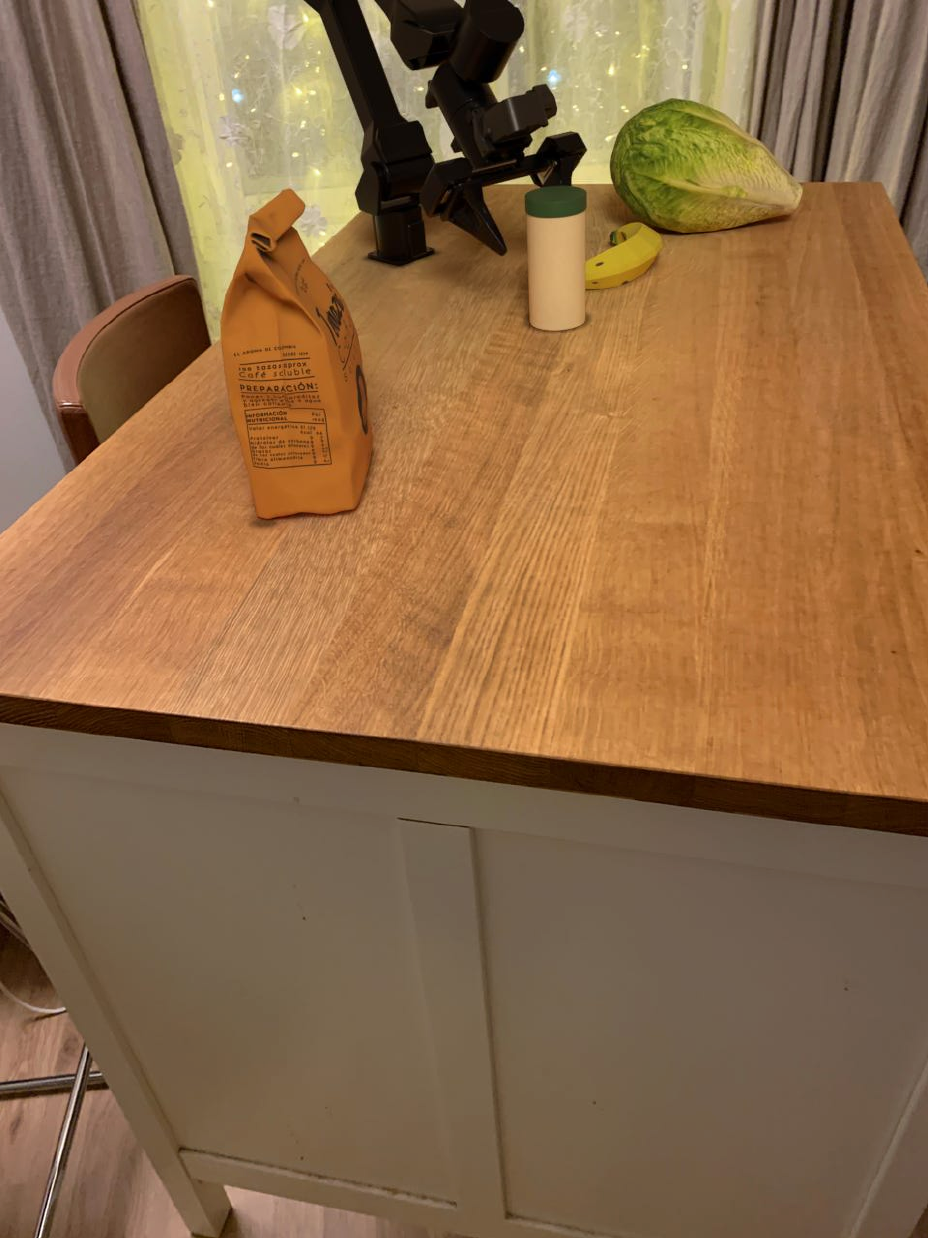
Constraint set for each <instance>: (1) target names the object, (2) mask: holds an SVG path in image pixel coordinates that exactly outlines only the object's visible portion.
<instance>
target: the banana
mask: <svg viewBox="0 0 928 1238" xmlns="http://www.w3.org/2000/svg"><path fill="white" fill-rule="evenodd" d="M609 240H610V243H611V244H615V246H612V247H610V248H609V249H607V250H605V251H603V252H600V254H597V255H596V256H593V257H591V258H590V259H587V260H585V290H602V289H610V288H616V287H620V286H622V285H626V284H628V283H631V282H633V281H634V280H636V279H637V278H639V277H641V276H643V275H644V274H645V273H646V272H647V271H648V269H649V268H650V267H651V266H652V265H653V263H654V262H655V260H656V259H657V257H658V256H659V254H660V252H661V251H662V249H663V248H664V244H663V239H662V237H661V234H660V233H658V232H657V231H655V230H654V229H652V228H651V227H649V226H648V225H646V224H644V223H642V222H639V221H637V222H629V223H627V224H625V225H622V226H620V227H619V228H618V229H616V230H613V231H611V232H610V234H609Z"/></svg>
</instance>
